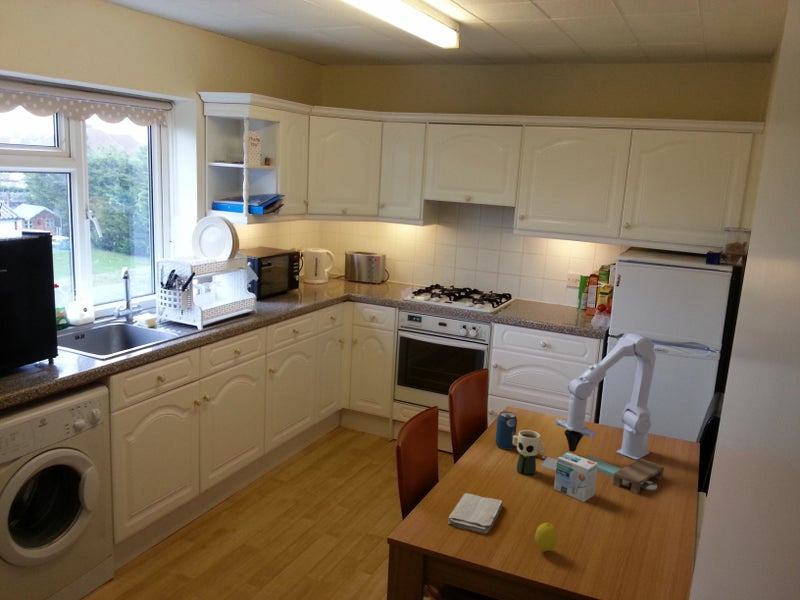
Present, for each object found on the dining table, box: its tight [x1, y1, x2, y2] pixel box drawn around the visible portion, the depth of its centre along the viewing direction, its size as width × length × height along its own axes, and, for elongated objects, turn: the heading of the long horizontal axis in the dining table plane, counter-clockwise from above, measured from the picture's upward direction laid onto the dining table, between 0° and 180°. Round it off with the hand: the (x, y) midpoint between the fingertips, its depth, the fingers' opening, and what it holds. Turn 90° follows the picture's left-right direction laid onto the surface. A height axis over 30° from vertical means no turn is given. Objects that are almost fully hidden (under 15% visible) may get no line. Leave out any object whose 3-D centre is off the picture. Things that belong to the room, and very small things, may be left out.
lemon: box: [534, 522, 558, 553], centre depth 169 cm, size 6×6×8 cm
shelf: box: [612, 457, 665, 495], centre depth 212 cm, size 18×8×4 cm, turn 134°
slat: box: [584, 455, 632, 484], centre depth 219 cm, size 6×18×2 cm, turn 41°
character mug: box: [513, 429, 546, 475], centre depth 214 cm, size 11×7×13 cm, turn 59°
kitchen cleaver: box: [535, 453, 557, 472], centre depth 222 cm, size 24×1×10 cm
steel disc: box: [640, 480, 658, 492], centre depth 209 cm, size 5×5×1 cm
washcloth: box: [447, 492, 503, 535], centre depth 185 cm, size 12×18×3 cm, turn 159°
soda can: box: [495, 410, 518, 450], centre depth 234 cm, size 7×7×12 cm
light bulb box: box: [553, 451, 598, 503], centre depth 202 cm, size 11×7×11 cm, turn 47°
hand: (572, 450), depth 228 cm, fingers closed
